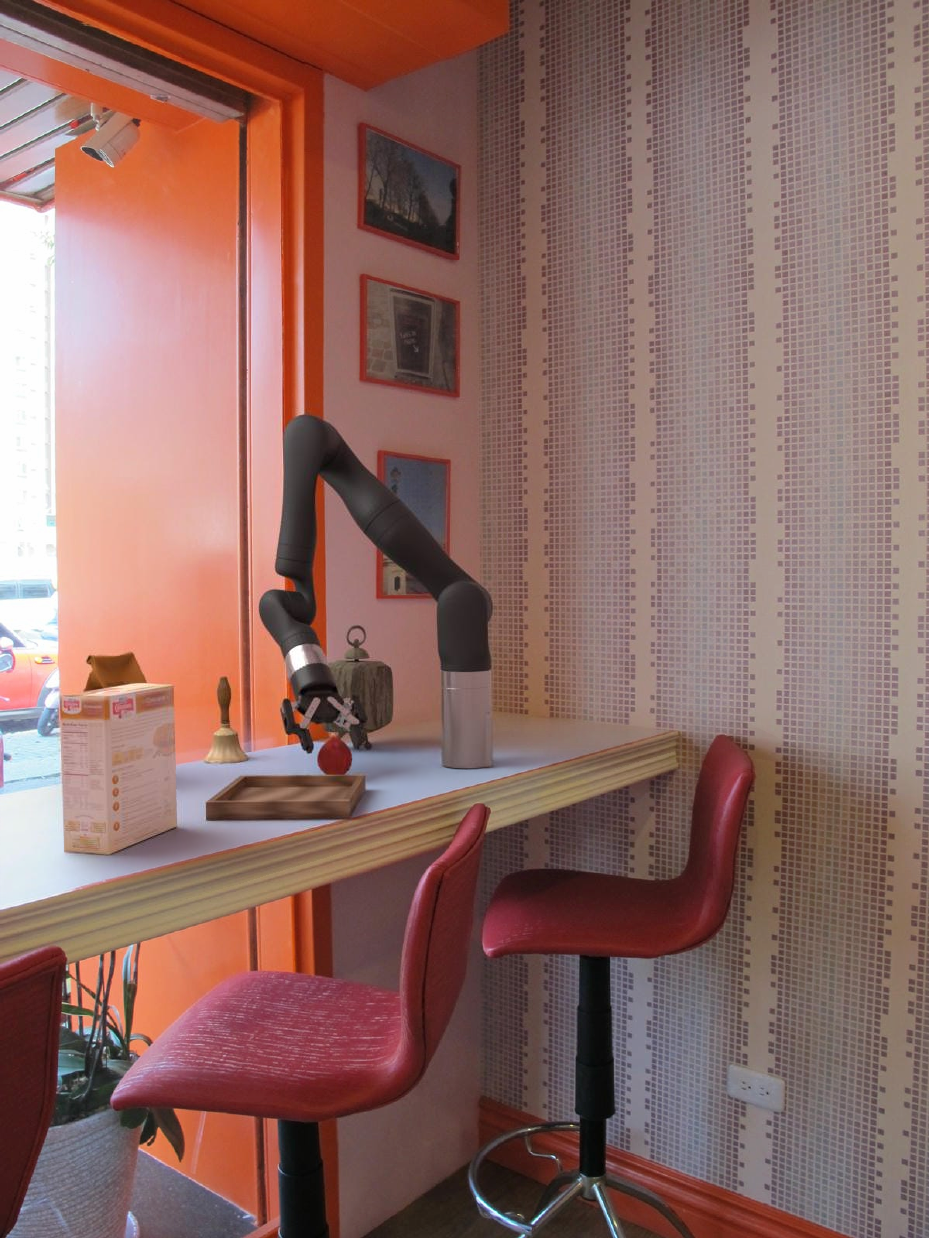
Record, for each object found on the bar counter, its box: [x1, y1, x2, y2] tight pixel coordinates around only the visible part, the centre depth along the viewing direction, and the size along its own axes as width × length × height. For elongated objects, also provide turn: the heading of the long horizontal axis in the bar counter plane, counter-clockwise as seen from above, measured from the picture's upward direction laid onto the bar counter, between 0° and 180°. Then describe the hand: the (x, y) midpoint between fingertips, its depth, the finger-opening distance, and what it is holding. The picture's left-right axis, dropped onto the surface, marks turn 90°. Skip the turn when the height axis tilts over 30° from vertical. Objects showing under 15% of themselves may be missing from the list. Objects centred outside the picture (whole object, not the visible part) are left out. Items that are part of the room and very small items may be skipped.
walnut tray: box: [205, 773, 366, 821], centre depth 146 cm, size 20×20×2 cm
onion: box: [316, 732, 353, 775], centre depth 164 cm, size 6×6×8 cm
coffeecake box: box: [58, 682, 178, 856], centre depth 126 cm, size 15×7×20 cm, turn 163°
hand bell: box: [203, 676, 249, 764], centre depth 186 cm, size 8×8×16 cm
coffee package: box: [82, 650, 148, 692], centre depth 164 cm, size 10×12×22 cm
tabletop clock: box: [321, 624, 394, 750], centre depth 198 cm, size 14×9×25 cm, turn 154°
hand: (335, 748), depth 164 cm, fingers open, 8 cm apart
